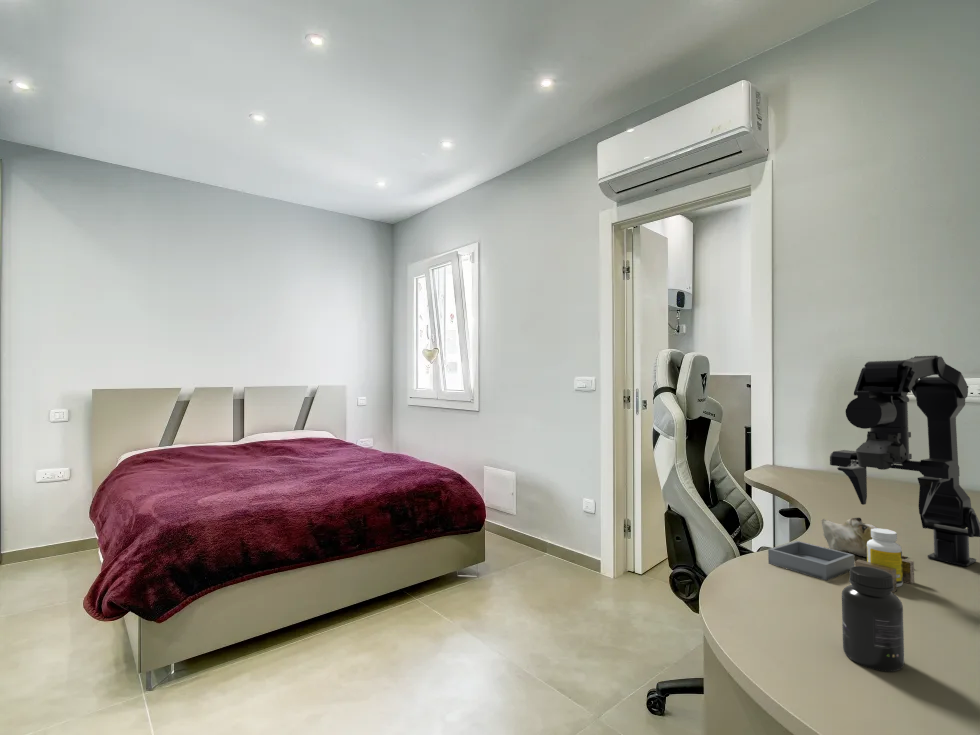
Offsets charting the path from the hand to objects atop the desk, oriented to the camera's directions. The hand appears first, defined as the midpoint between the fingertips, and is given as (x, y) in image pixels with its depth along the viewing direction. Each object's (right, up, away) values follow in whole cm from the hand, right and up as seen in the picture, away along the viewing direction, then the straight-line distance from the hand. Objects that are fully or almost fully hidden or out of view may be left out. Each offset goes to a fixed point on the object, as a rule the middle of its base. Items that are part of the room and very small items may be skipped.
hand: (891, 509), depth 96 cm
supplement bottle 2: (-23, -14, -26) cm, 37 cm away
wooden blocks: (0, -15, +2) cm, 15 cm away
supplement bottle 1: (0, -15, +2) cm, 15 cm away
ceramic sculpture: (+7, -16, +17) cm, 24 cm away
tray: (-9, -15, +10) cm, 20 cm away
